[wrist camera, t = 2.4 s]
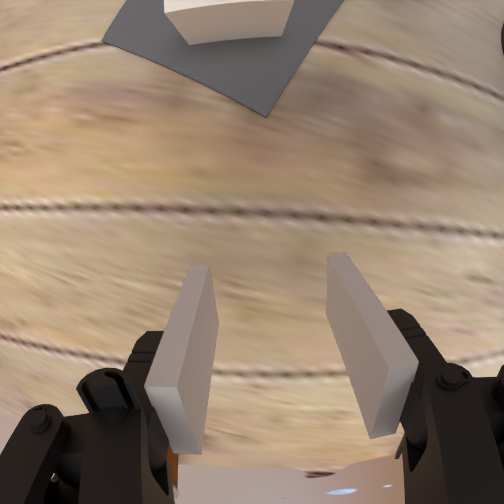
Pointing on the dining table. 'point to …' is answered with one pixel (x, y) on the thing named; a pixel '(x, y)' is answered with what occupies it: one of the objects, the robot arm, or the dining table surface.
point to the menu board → (227, 18)
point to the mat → (224, 50)
